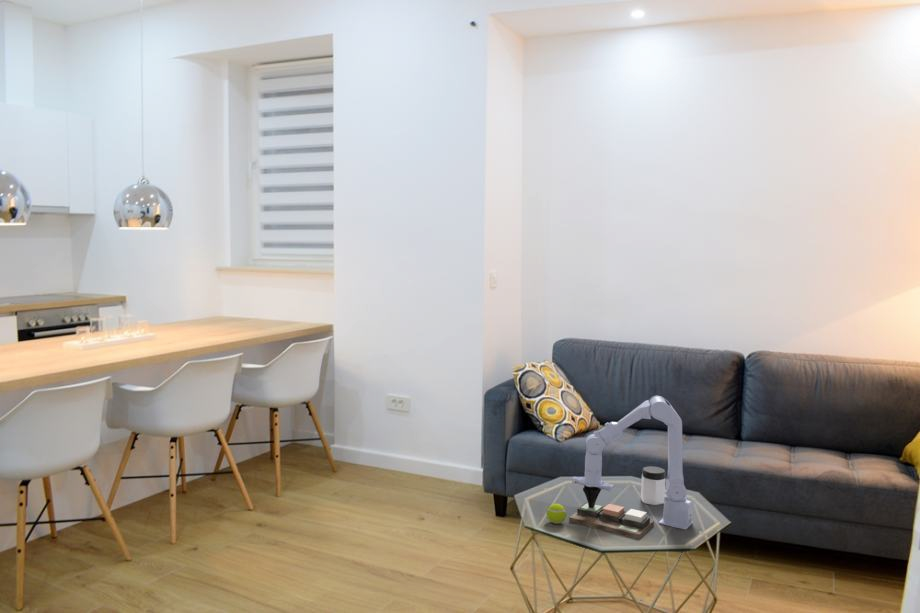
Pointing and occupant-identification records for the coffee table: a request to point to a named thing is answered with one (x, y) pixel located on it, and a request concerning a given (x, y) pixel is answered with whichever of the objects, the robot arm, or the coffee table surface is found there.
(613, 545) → the coffee table surface
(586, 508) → the key sage
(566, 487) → the coffee table surface
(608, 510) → the key terracotta
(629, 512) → the key white
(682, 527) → the robot arm
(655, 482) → the jar
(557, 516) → the tennis ball
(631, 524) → the console
